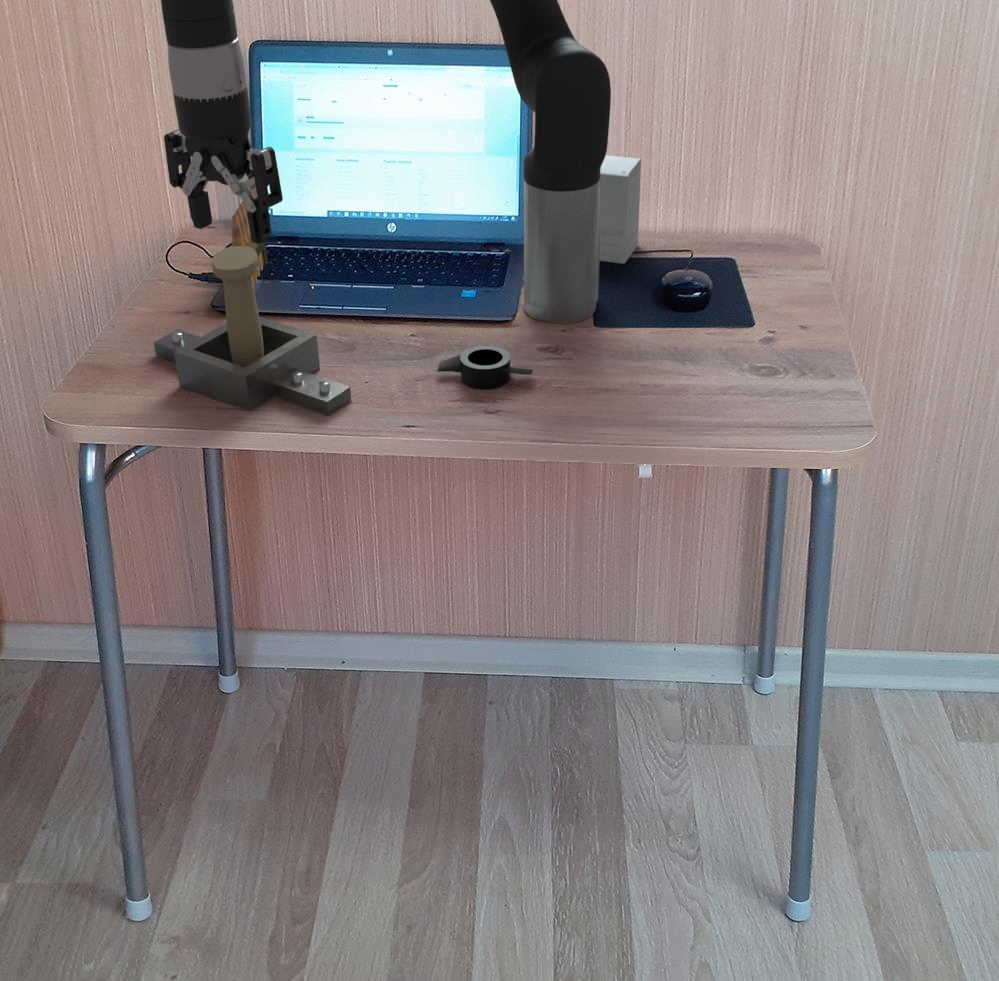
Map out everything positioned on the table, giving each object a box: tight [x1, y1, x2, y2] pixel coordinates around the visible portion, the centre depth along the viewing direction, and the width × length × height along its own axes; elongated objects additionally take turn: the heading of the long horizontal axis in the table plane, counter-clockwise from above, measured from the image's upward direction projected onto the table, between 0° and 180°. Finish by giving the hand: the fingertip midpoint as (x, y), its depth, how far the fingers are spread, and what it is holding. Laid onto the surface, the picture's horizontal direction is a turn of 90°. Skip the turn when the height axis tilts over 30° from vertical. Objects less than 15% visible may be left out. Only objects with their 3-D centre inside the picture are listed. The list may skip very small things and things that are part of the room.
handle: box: [211, 246, 264, 367], centre depth 148 cm, size 5×6×15 cm
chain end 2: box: [209, 322, 352, 417], centre depth 148 cm, size 14×12×4 cm
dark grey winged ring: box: [437, 345, 534, 391], centre depth 151 cm, size 8×10×3 cm
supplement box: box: [598, 154, 642, 265], centre depth 178 cm, size 7×7×13 cm
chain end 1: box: [153, 316, 281, 400], centre depth 154 cm, size 14×12×4 cm
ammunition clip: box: [231, 189, 269, 287], centre depth 170 cm, size 11×2×12 cm, turn 176°
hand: (231, 233), depth 142 cm, fingers open, 8 cm apart
